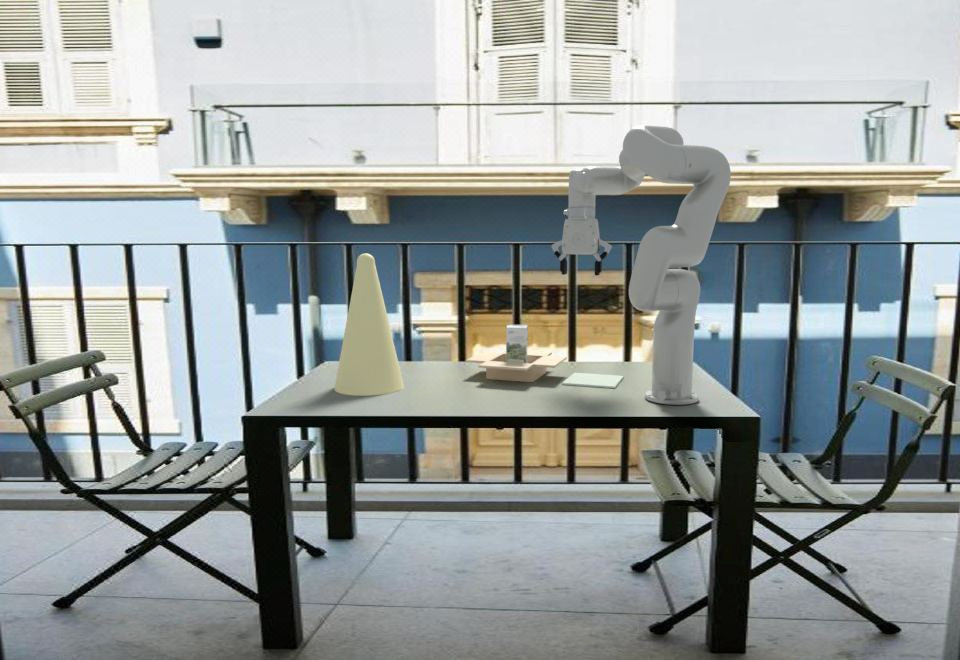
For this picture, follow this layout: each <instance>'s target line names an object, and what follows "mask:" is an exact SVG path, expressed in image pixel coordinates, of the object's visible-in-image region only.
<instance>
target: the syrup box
mask: <svg viewBox="0 0 960 660" xmlns="http://www.w3.org/2000/svg"><path fill="white" fill-rule="evenodd" d="M528 327H529V326H528V324H507V325H506V328H505V329H506V331H505V334H506V337H505V338H506V340H505V341H506V342H505V344H506V345H505V348H506V350H505V351H506V362H515V363H527V351H528V339H529V338H528V336H529V335H528V333H529V332H528V330H529V328H528Z"/></svg>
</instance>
